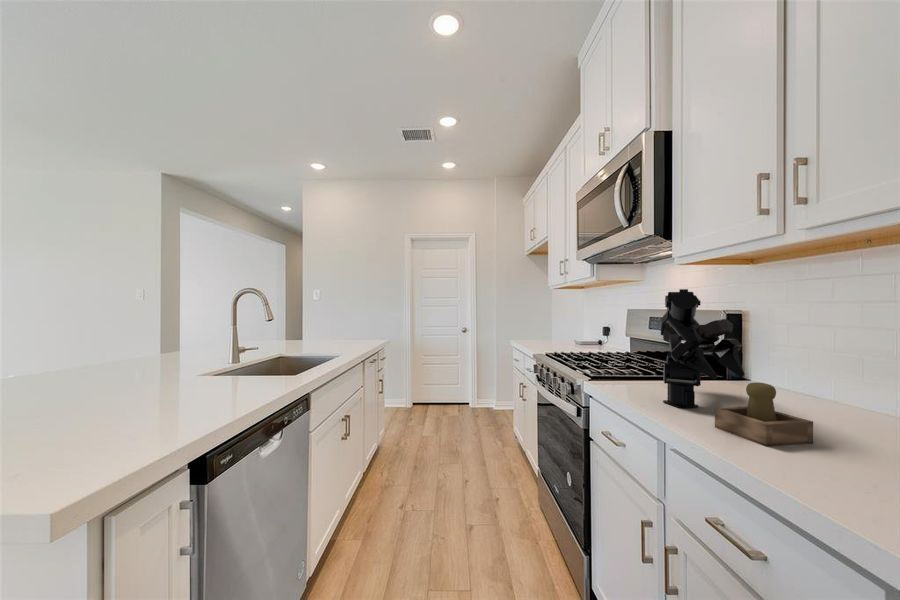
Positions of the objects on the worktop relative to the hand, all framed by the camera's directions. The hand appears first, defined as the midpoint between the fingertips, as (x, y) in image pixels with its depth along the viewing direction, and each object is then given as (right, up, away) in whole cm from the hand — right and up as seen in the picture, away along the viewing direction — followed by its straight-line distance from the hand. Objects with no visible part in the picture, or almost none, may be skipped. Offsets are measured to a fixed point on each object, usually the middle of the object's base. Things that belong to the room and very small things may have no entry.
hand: (729, 377), depth 90 cm
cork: (+1, -11, -7) cm, 13 cm away
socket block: (+1, -11, -8) cm, 14 cm away
